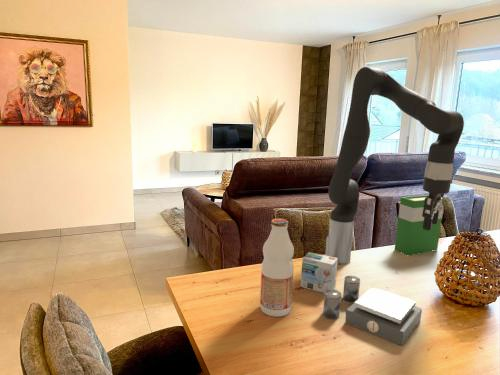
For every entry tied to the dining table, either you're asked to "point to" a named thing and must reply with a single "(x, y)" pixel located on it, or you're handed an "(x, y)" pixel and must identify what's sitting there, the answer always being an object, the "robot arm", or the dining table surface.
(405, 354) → the dining table surface
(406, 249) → the green cereal box
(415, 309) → the scale
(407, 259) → the dining table surface
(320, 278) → the light bulb box
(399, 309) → the platform
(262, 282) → the fruit juice
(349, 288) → the cylinder
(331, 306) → the cylinder
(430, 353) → the dining table surface
